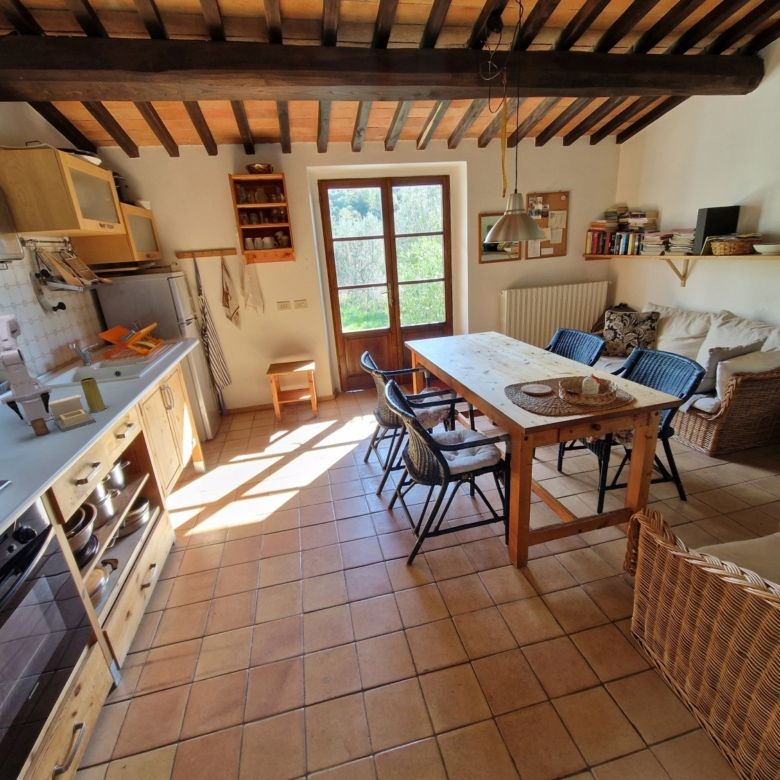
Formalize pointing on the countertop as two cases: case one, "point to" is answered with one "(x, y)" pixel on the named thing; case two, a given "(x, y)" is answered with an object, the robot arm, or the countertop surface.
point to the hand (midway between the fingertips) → (35, 415)
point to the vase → (92, 394)
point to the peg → (39, 427)
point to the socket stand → (70, 413)
